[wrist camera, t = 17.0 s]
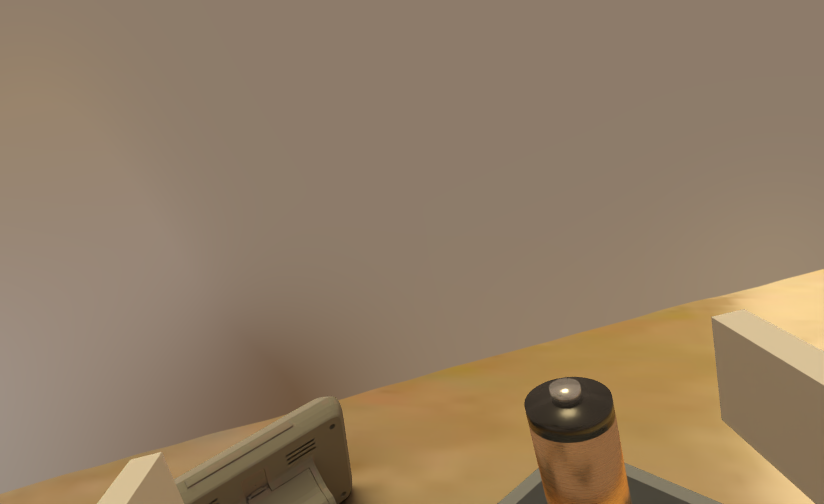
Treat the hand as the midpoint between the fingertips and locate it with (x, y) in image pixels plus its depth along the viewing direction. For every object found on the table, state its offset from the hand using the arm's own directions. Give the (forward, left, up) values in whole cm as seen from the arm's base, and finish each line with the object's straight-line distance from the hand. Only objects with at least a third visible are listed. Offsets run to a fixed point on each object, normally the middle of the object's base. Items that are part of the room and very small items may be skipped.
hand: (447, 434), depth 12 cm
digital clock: (-28, -1, -22) cm, 35 cm away
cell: (-8, +13, -21) cm, 25 cm away
